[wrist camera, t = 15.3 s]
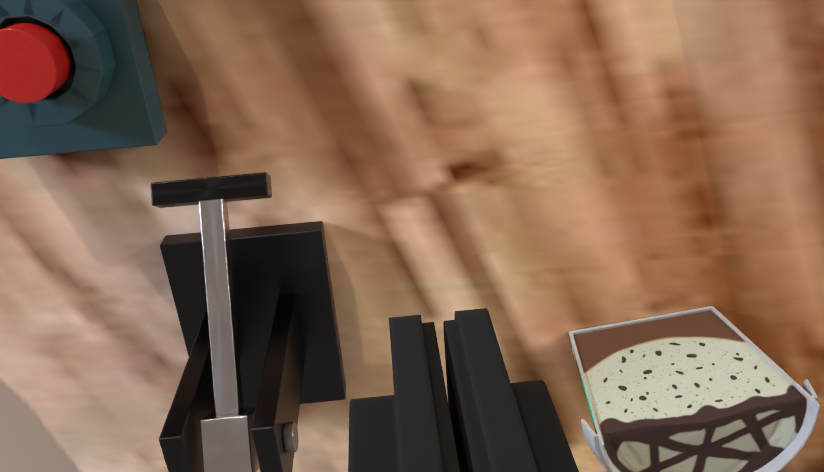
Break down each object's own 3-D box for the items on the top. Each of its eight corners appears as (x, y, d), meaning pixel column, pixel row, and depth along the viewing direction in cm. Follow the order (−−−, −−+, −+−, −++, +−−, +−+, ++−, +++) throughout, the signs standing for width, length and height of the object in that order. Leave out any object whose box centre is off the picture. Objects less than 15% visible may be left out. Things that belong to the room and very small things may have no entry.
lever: (162, 187, 35) (144, 180, 32) (273, 177, 35) (263, 169, 32) (183, 472, 34) (167, 486, 31) (296, 460, 34) (289, 474, 32)
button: (-14, 25, 31) (-34, 32, 29) (59, 19, 31) (43, 25, 29) (10, 96, 32) (-8, 106, 31) (80, 90, 32) (65, 100, 31)
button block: (-54, -59, 33) (-105, -53, 29) (119, -73, 33) (89, -68, 29) (16, 145, 37) (-21, 172, 33) (167, 132, 37) (147, 157, 34)
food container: (552, 409, 47) (597, 529, 38) (545, 335, 45) (592, 446, 36) (731, 377, 47) (819, 490, 38) (735, 301, 45) (830, 404, 36)
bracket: (164, 235, 40) (86, 373, 28) (322, 220, 40) (307, 351, 29) (207, 400, 45) (155, 573, 34) (346, 386, 45) (341, 553, 34)
